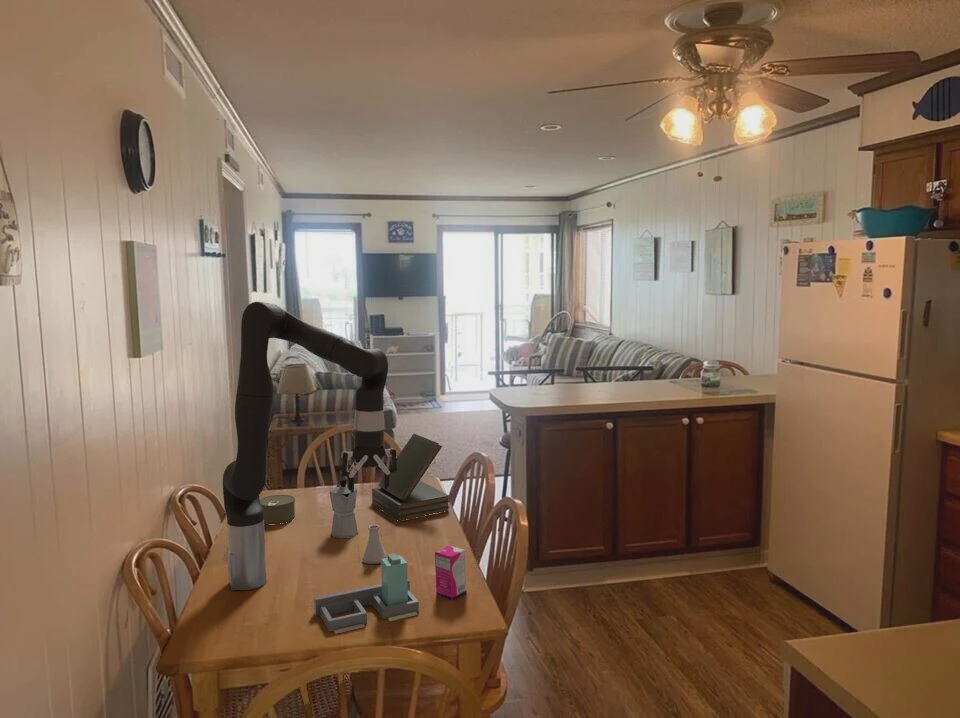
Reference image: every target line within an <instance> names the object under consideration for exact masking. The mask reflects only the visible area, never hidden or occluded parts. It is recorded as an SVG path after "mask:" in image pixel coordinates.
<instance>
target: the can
mask: <svg viewBox="0 0 960 718" xmlns="http://www.w3.org/2000/svg"><path fill="white" fill-rule="evenodd" d="M259 499H260V503H261V505H262V508H263V511H264V525H265V524H280V523H286V522H289V521H291V522H293V521H294V520H295V519H296V513H295V511H296V510H295V509H296V508H295V507H296V506H295V504H296V502H295V501H296V498H295V497H294V496H292V495H289V494H288V495H287V494H275V495H268V496H264V497H262V498H259ZM294 518H295V519H294ZM293 519H294V520H293ZM292 520H293V521H292ZM289 523H290V522H289ZM286 524H287V523H286Z"/></svg>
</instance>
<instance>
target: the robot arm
mask: <svg viewBox="0 0 960 718" xmlns="http://www.w3.org/2000/svg"><path fill="white" fill-rule="evenodd" d="M240 324H241V326H240V332H241V333H240V360H239V371H238V381H237V388H236V394H235V403H234V421H235V428H236V436H237V453H236V460H234V461H232V462H230V463H228V465H227V466H226V468H225V469H224V471H223V475H222V494H223V507H224V511H225V515H226V523H227V525H226V526H227V543H228V544H227V545H228V546H227V566H228V567H227V568H228V583H229V586H230V589H231V591H251V590H254V589H257V588H260V587H262V586H263V585H265V584H266V583H267V564H266V563H267V561H266V539H265V538H266V537H265V524H264V511H263V508H262V505H261V503H260V499H261V498H260V494H261V493H262V492H263V491H264V488H265V485H266V482H267V446H268V445H267V444H268V438H269V432H270V423H271V417H272V411H273V410H272V409H273V401H274V395H275V394H274V392H275V391H274V390H275V388H274V383H273V381H274V380H273V378H272V375H271V374H272V373H271V371H270V368H269V364H268V363H269V362H268V349H269V343H270V342H269V341H270V339H278V340H283V341H287V342H290V343H294V344H296V345H299V346H300V347H302V348H304V349H305V350H307V351H308V352H310V353H311V354H313V355H315V356H316V357H319V358H320V359H324V360H325V361H328V362H330V363H333V364H335V365H339V367H341V368H343V369H344V370H345V371H347V372H349V373H350V374H352V375H355V376H357V377H360V378H362V379H361V384H360V385H359V386H358V387H357V388H356V392H355V400H354V401H355V403H354V404H355V405H354V406H355V407H354V408H355V409H354V418H353V420H354V421H353V450H352V451H346V450H342V451H341V452H340V464H339V473H340V475H341V476H343V477H346V479H347V482H346V486H347V488H348V489H349V490H350V492H354V487H355V475H356V474H357V472H358V471H360V469H361V468H363V469H367V468H369V467H371V468H376V467H377V466H378V467H379V468H380V470H381V471H382V472H383V473H382V475H381V476H382V477H381V480H382V488H383V489H387V487H389V475H390V474H391V473H392V472H396V471H397V460H396V458H397V451H396V449H395V448H393V447H390V448H387V449H386V448H385V447H384V446H385V414H384V390H385V387H386V385H387V378H388V371H389V361H388V357H387V355H386V353H385V352H384V351H383V350H381V348H367V349H365V348H361V347H359V346H357V345H354V343H353V341H351V340H350V339H348V338H346V337H343V336H341V335H339V334H336V333H334V332H331V331H328V330H325V329H324V328H320V327H317V326H314V325H313V324H310V323H308V322H307V321H303V320H302V319H300V318H298V317H297V316H295V315H294V314H292V313H290V312H288V311H287V310H285V309H284V308H282V307H281V306H278V305H277V304H274V303H269V302H263V301H254V302H251V303H249V304H248V305H247V306H246V307H245V309H244V310H243V312H242V316H241V323H240ZM385 455H386V456H387V457H388V458H389V467H387V466H386V464H385V463H384V462H383V459H384V457H385ZM351 457H352V458H353V459H354V461H353V462H352V464H351V466H350V468H349V469H348V461H350V459H351ZM347 469H348V470H347Z"/></svg>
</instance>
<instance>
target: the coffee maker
mask: <svg viewBox="0 0 960 718" xmlns="http://www.w3.org/2000/svg"><path fill="white" fill-rule="evenodd" d="M357 493H358V488H357V487H355V486H354V492H350V490H349V489H348V488H347V477H346V478H340V479H339V483H338V484H336V486H335V487H332V488H331V489H330V490H329V496H330V502H331V509H332V512H334V513H333V517H332V525H331V532H330V535H331V536H332V538H336V539H341V538H343V539H348V537H350V538H353V537H355V536H357V535H359V530H358V525H357V519H356V515H355V509H356V504H357V503H356V501H357V496H358V495H357ZM356 534H357V535H356Z"/></svg>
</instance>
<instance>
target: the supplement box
mask: <svg viewBox="0 0 960 718" xmlns="http://www.w3.org/2000/svg"><path fill="white" fill-rule="evenodd" d="M434 564H435V565H434V567H435V590H436V595H438V596H441V597H444V598H446V599H449V600H452V601H454V600H455V599H457V598H458V597H460V596H462V595H464V594H466V593H467V571H466V569H467V568H466V549H464V548H460V547H456V546H452V545H447V546H445V547H443V548H441V549H438V550H436V551H434Z"/></svg>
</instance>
